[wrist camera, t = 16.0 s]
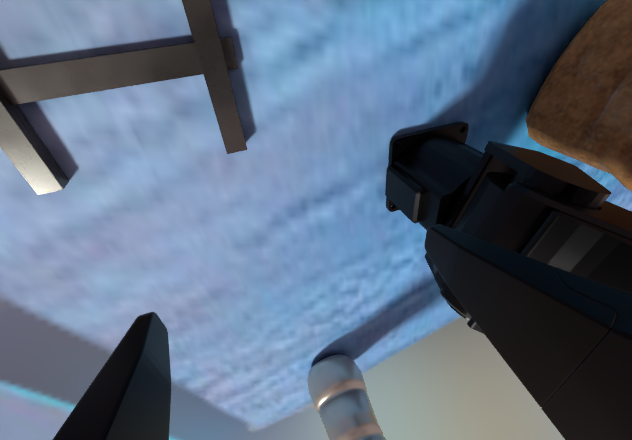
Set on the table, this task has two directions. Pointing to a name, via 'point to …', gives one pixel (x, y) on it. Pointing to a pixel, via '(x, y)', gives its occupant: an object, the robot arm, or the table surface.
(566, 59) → the bread
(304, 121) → the table surface
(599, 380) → the robot arm
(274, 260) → the table surface
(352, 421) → the plastic bottle
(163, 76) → the rail track
